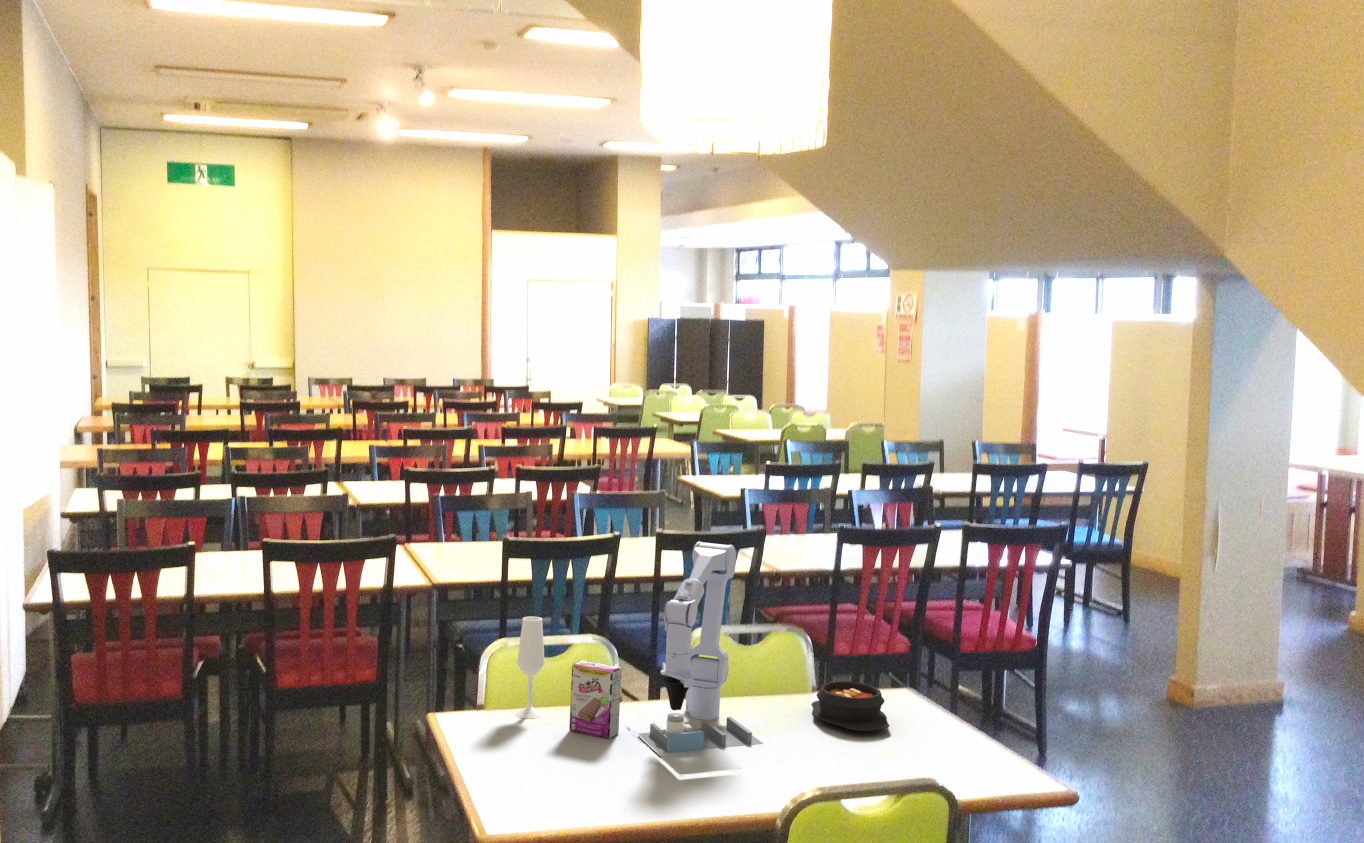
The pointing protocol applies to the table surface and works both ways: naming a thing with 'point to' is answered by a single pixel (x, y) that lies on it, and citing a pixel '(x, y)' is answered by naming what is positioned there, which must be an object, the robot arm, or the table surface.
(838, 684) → the casserole
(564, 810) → the table surface
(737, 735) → the grey slotted rack
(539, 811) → the table surface
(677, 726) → the cream rounded cylinder
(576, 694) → the candy bar box
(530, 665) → the champagne flute
